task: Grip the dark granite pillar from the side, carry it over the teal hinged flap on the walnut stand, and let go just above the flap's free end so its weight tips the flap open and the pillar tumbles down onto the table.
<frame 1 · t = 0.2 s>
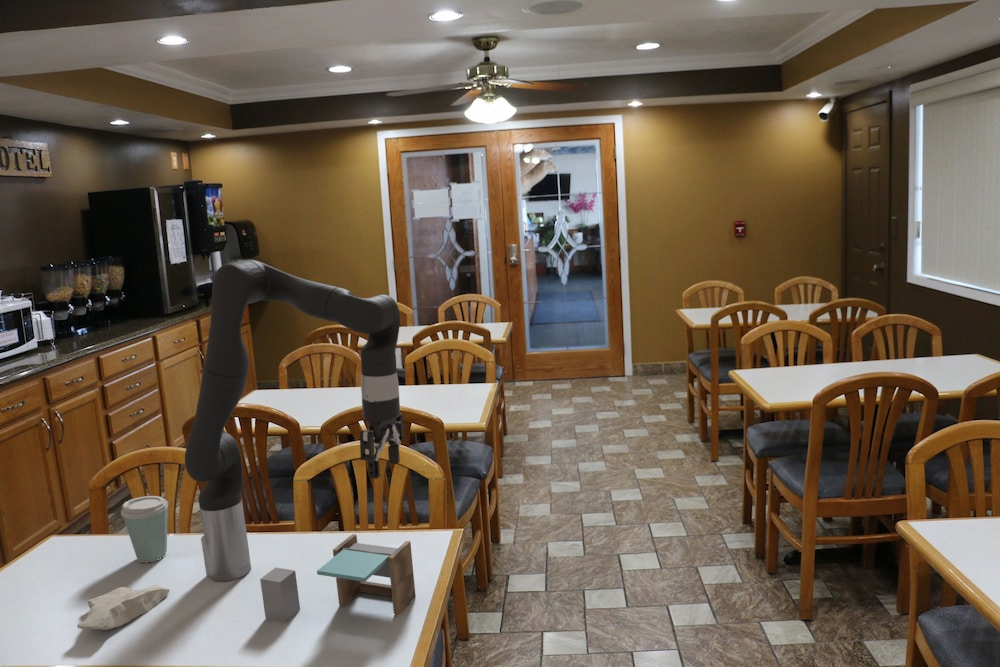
hand: (384, 470, 163), 29 cm above the table, tool pointing down, fingers open, 8 cm apart
trapdoor flap: (361, 571, 161), point 9 cm above the table, hinge at 0.0°
rock: (116, 616, 170), on the table
granite pillar: (283, 614, 165), on the table
flap stand: (373, 606, 166), on the table
disposable coffee cup: (153, 558, 195), on the table
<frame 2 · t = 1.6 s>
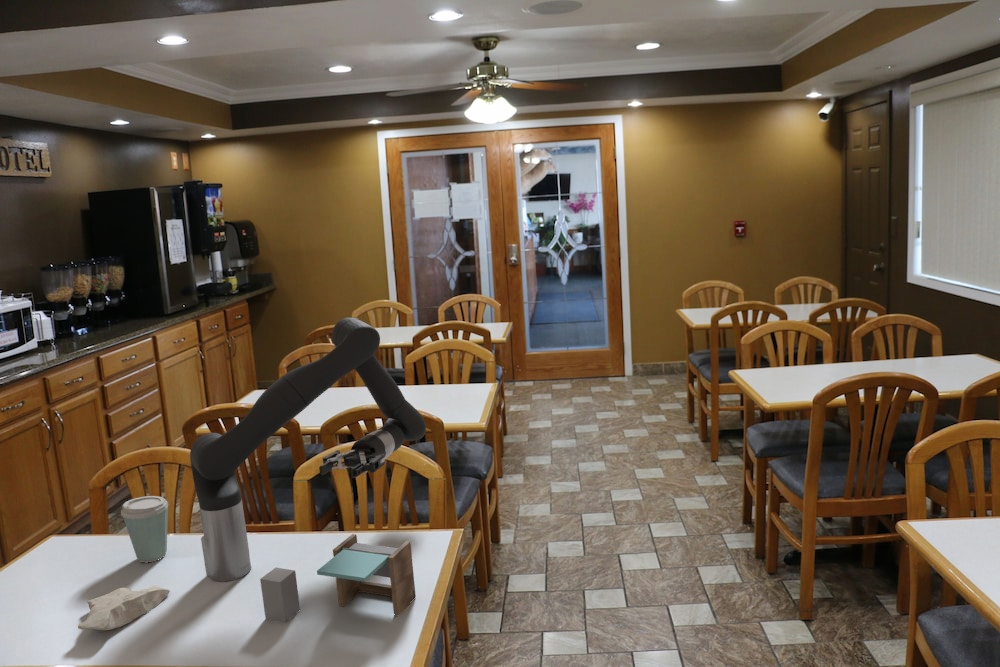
hand: (336, 472, 182), 22 cm above the table, tool horizontal, fingers open, 8 cm apart
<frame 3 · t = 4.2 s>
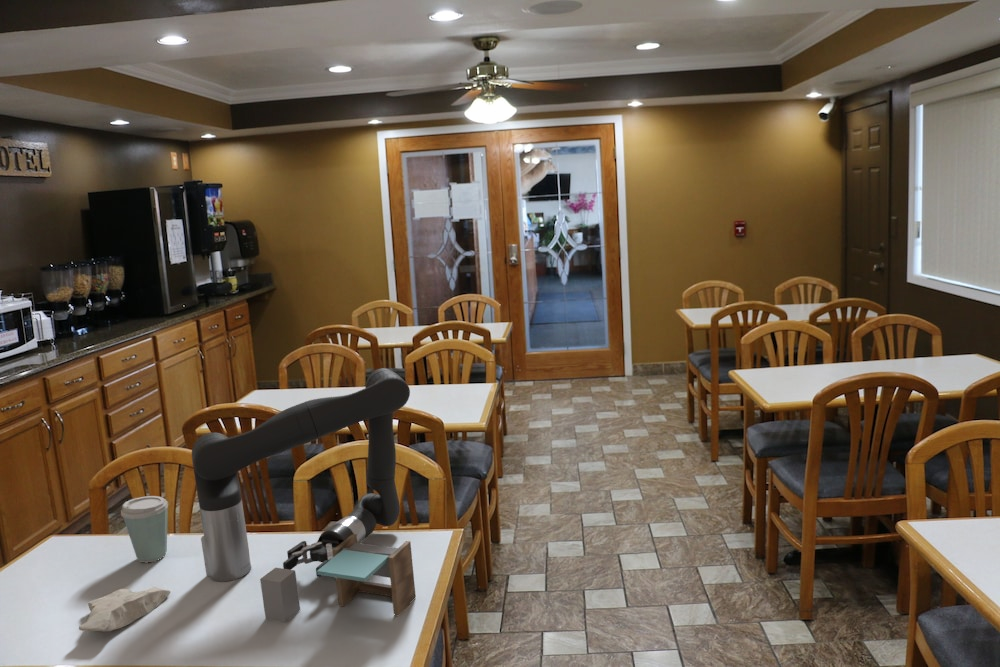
hand: (301, 570, 170), 6 cm above the table, tool horizontal, fingers open, 8 cm apart
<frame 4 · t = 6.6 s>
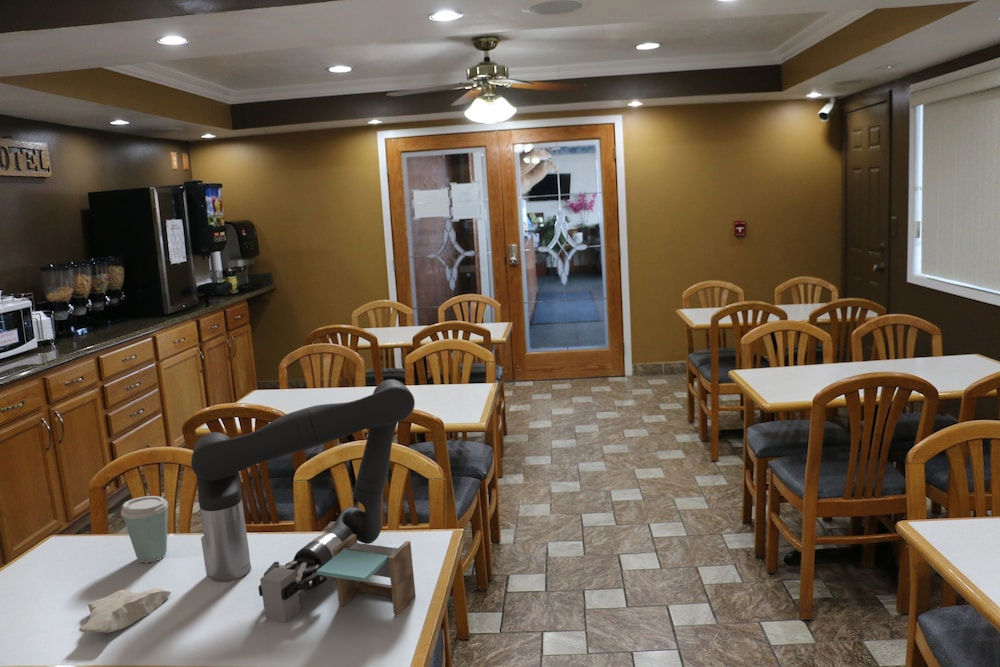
hand: (271, 593, 161), 6 cm above the table, tool horizontal, fingers closed on granite pillar, 5 cm apart
granite pillar: (283, 614, 165), on the table, touching gripper
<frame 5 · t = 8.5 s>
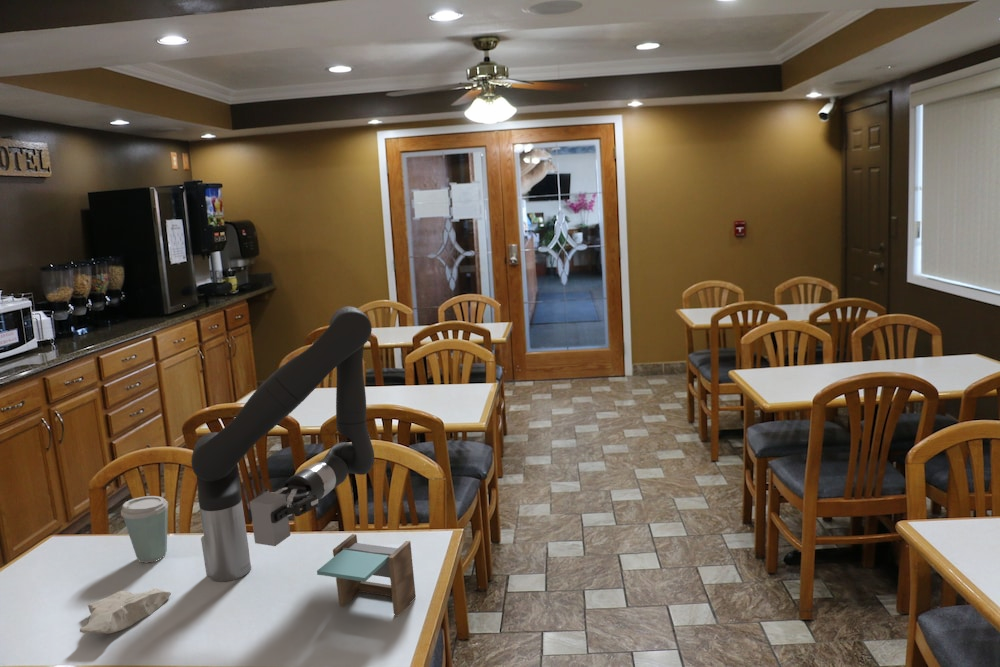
hand: (261, 517, 158), 23 cm above the table, tool horizontal, fingers closed on granite pillar, 5 cm apart
granite pillar: (272, 539, 162), point 17 cm above the table, touching gripper
when the fingers open (20 cm above the table, at t = 10.9 s): granite pillar drops 5 cm and tips over, point 9 cm above the table.
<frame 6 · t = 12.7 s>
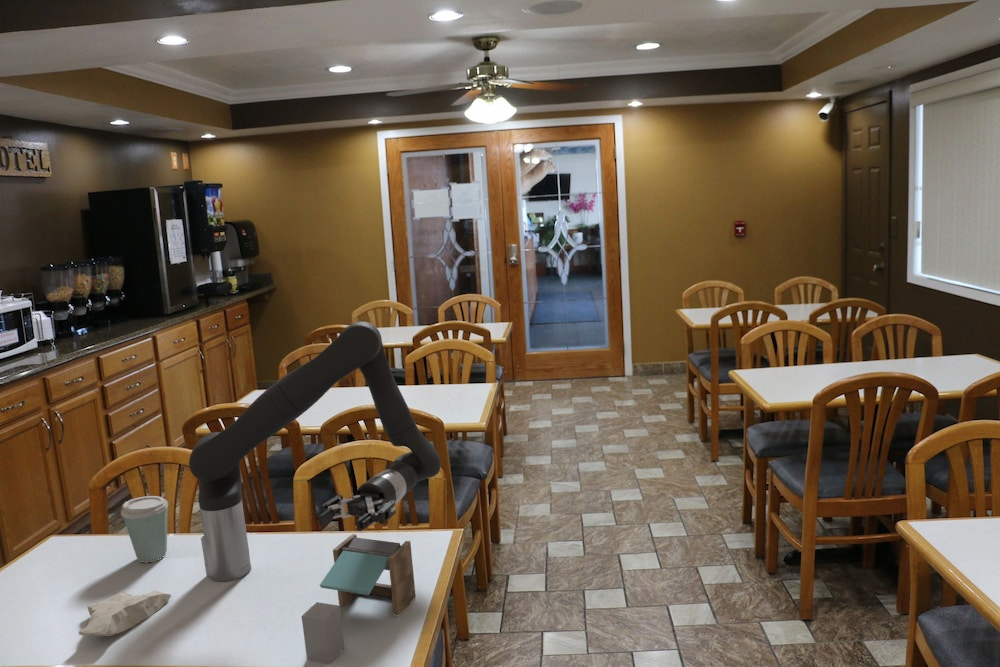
hand: (339, 524, 154), 22 cm above the table, tool horizontal, fingers open, 8 cm apart
trapdoor flap: (364, 572, 162), point 9 cm above the table, hinge at -18.7°
granite pillar: (320, 610, 148), point 9 cm above the table, tilted 180°
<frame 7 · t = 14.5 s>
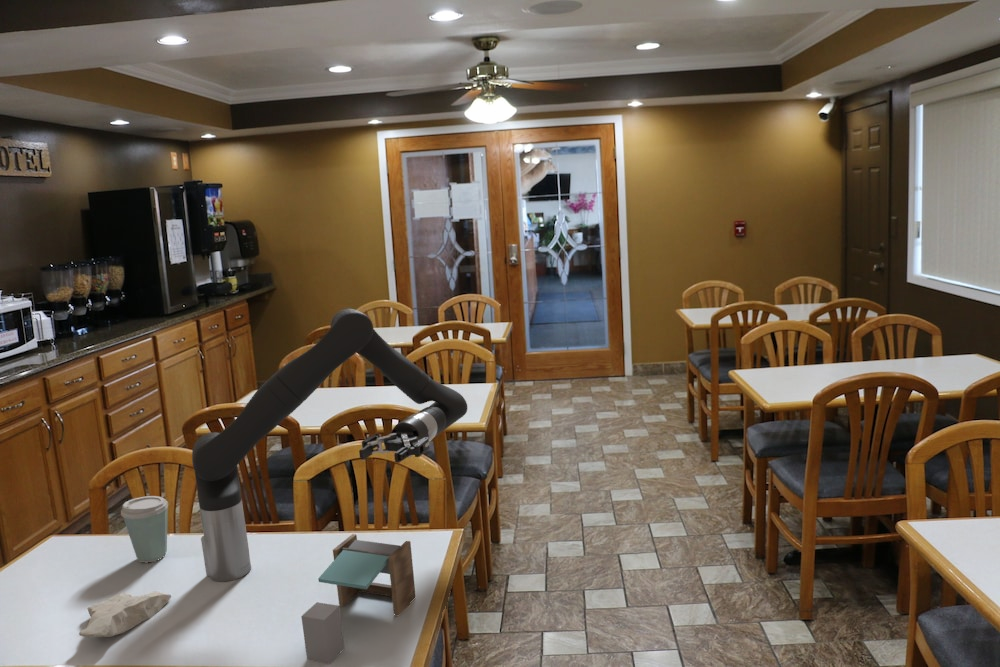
hand: (378, 456, 167), 30 cm above the table, tool horizontal, fingers open, 8 cm apart
trapdoor flap: (362, 572, 162), point 9 cm above the table, hinge at -9.9°
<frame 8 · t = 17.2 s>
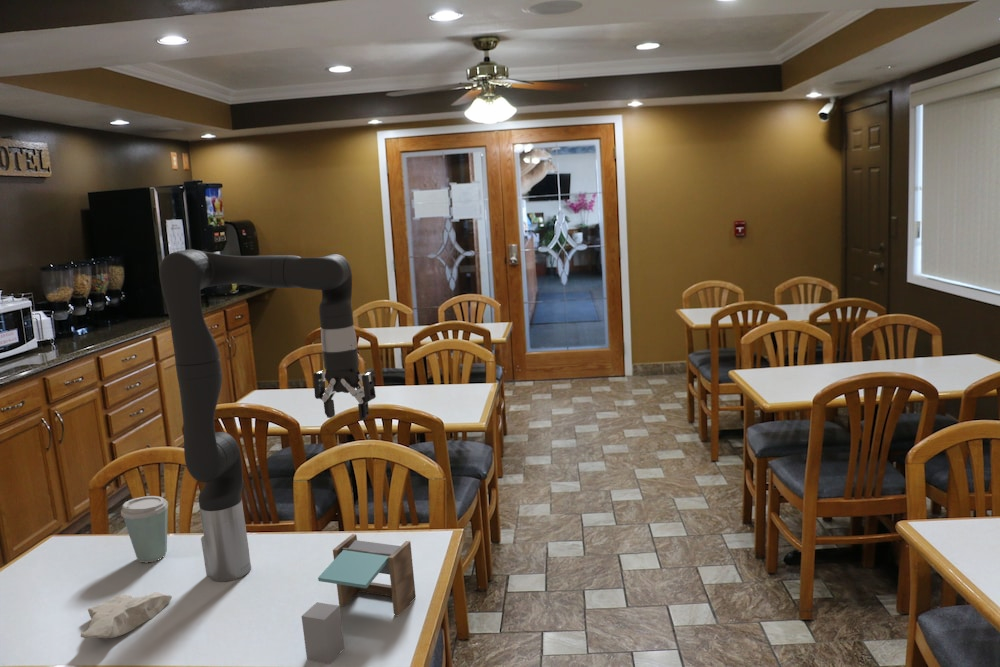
hand: (347, 418, 176), 36 cm above the table, tool pointing down, fingers open, 8 cm apart
trapdoor flap: (362, 572, 162), point 9 cm above the table, hinge at -8.7°
at the end: granite pillar touching table; granite pillar point 9.0 cm above the table; granite pillar 17.6 cm from the flap stand (horizontally) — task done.
